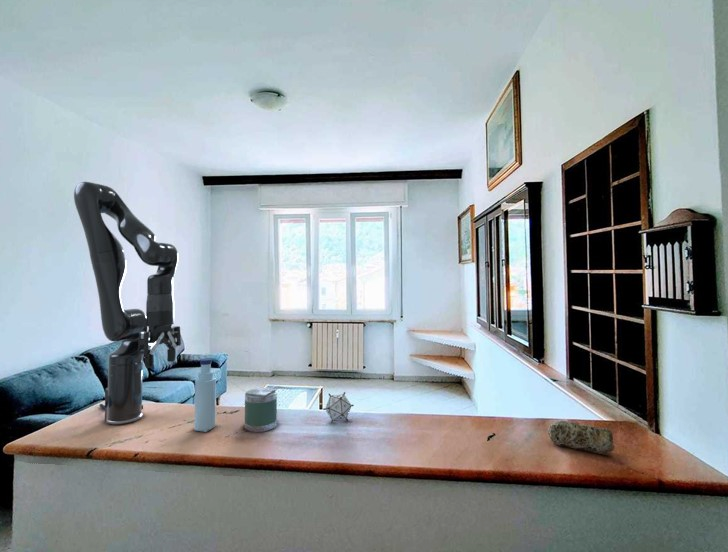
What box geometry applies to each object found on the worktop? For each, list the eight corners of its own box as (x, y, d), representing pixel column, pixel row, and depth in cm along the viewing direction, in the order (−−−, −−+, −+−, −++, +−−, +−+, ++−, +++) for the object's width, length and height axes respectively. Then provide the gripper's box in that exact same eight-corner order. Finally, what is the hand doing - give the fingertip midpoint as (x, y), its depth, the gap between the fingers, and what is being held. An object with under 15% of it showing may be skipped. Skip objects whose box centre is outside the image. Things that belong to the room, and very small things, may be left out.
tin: (238, 429, 114) (238, 394, 114) (255, 418, 122) (256, 385, 123) (266, 433, 111) (266, 397, 111) (282, 422, 119) (282, 388, 120)
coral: (547, 446, 103) (546, 422, 103) (550, 438, 108) (549, 415, 108) (614, 460, 95) (613, 434, 95) (614, 451, 100) (613, 425, 100)
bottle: (189, 431, 113) (191, 360, 114) (203, 423, 118) (204, 356, 119) (206, 433, 111) (207, 362, 112) (219, 426, 116) (220, 358, 117)
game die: (342, 435, 119) (349, 415, 113) (316, 422, 121) (321, 402, 115) (353, 411, 126) (359, 391, 121) (328, 400, 128) (334, 380, 123)
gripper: (167, 307, 127) (168, 359, 126) (130, 311, 114) (130, 369, 113) (187, 307, 125) (187, 359, 124) (152, 311, 112) (152, 370, 110)
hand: (160, 364), depth 118 cm, fingers open, 8 cm apart
